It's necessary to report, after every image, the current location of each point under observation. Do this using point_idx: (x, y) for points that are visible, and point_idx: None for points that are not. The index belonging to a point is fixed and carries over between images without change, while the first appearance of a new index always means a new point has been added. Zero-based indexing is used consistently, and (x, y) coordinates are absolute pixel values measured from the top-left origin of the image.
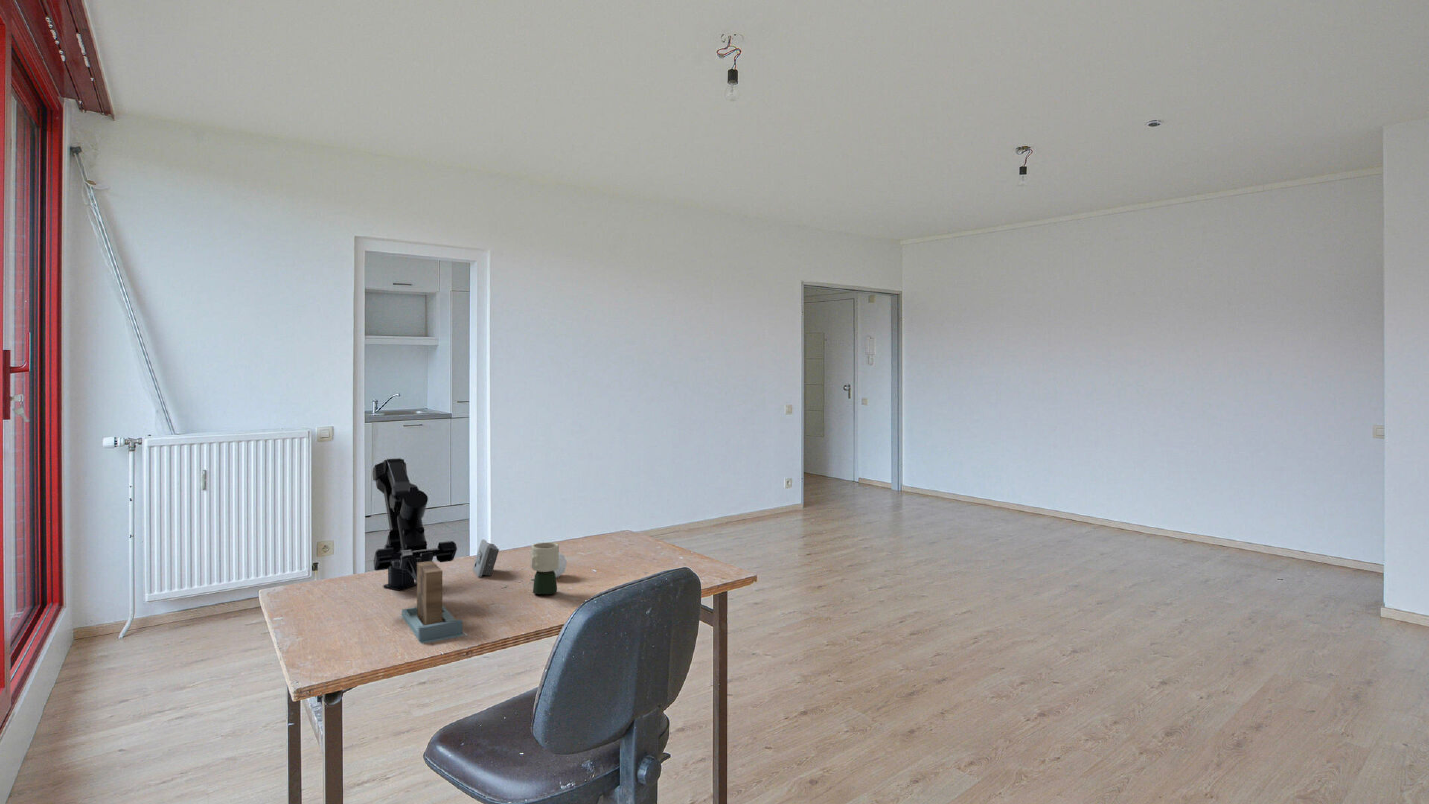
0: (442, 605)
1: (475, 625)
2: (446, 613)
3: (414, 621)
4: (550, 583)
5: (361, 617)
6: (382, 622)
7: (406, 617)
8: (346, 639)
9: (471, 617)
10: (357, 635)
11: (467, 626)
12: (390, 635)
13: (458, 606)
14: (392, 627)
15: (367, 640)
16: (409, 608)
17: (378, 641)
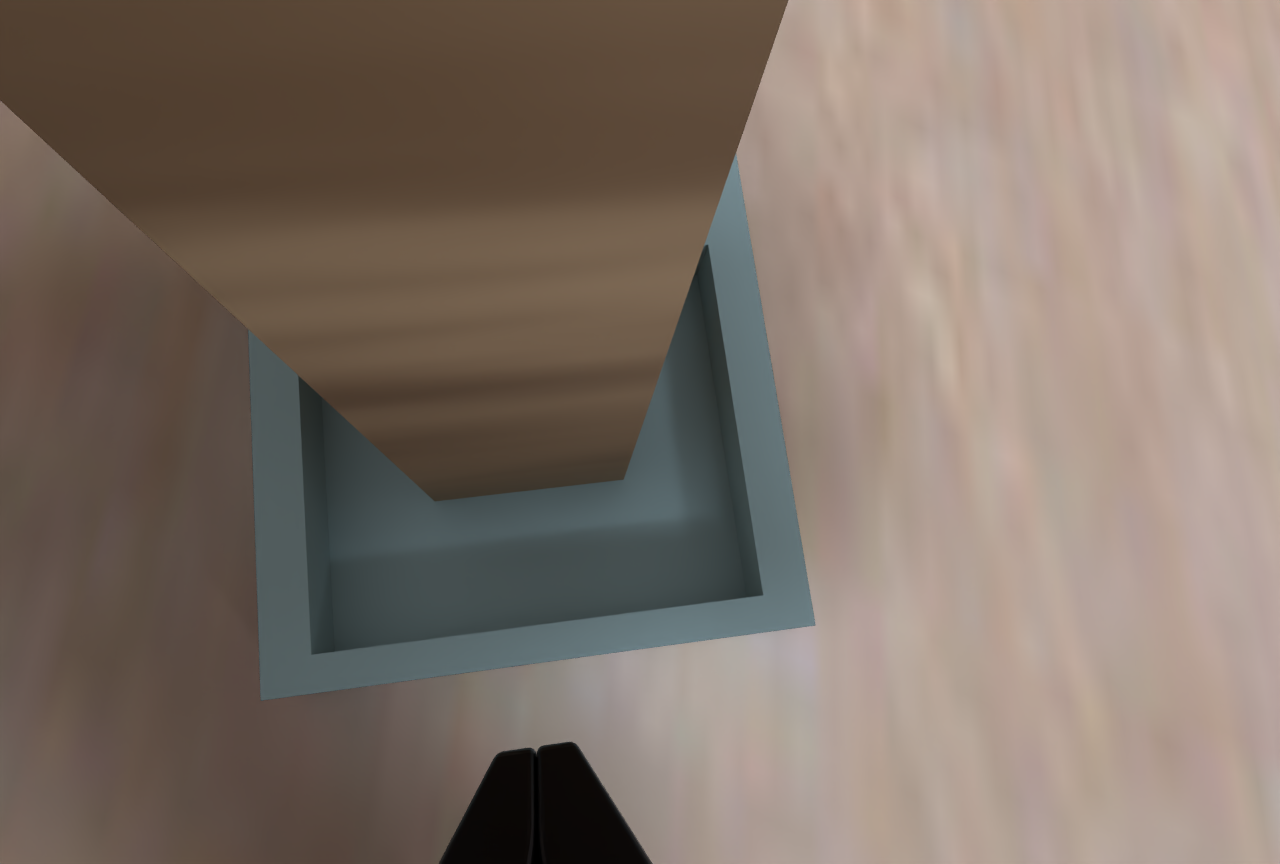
0: (265, 578)
1: None
2: None
3: None
4: None
5: (1248, 849)
6: (994, 545)
7: (760, 321)
8: (1276, 174)
9: (10, 297)
10: (1196, 239)
11: None
12: (895, 109)
13: (31, 828)
14: (883, 330)
15: (1089, 70)
16: (717, 623)
17: (992, 6)
